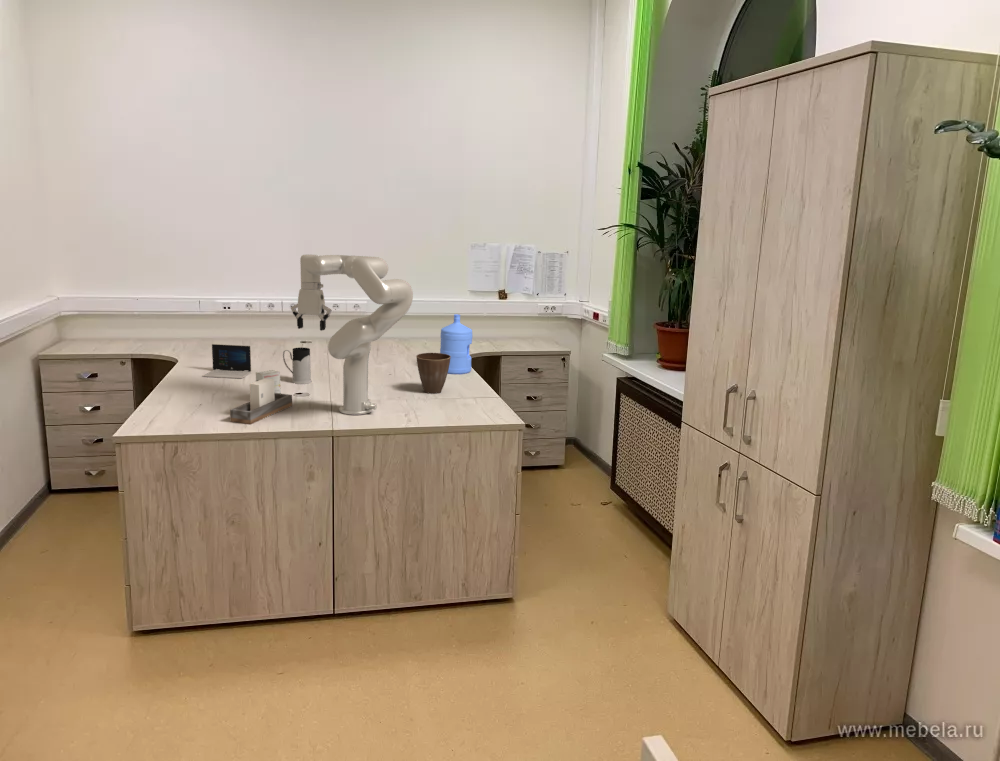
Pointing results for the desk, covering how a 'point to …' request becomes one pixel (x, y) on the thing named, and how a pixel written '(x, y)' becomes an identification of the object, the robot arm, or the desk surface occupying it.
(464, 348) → the water jug
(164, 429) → the desk surface
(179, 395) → the desk surface
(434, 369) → the plant pot
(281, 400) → the door track
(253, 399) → the white rectangular box
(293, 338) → the desk surface
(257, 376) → the ink box
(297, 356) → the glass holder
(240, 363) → the laptop
